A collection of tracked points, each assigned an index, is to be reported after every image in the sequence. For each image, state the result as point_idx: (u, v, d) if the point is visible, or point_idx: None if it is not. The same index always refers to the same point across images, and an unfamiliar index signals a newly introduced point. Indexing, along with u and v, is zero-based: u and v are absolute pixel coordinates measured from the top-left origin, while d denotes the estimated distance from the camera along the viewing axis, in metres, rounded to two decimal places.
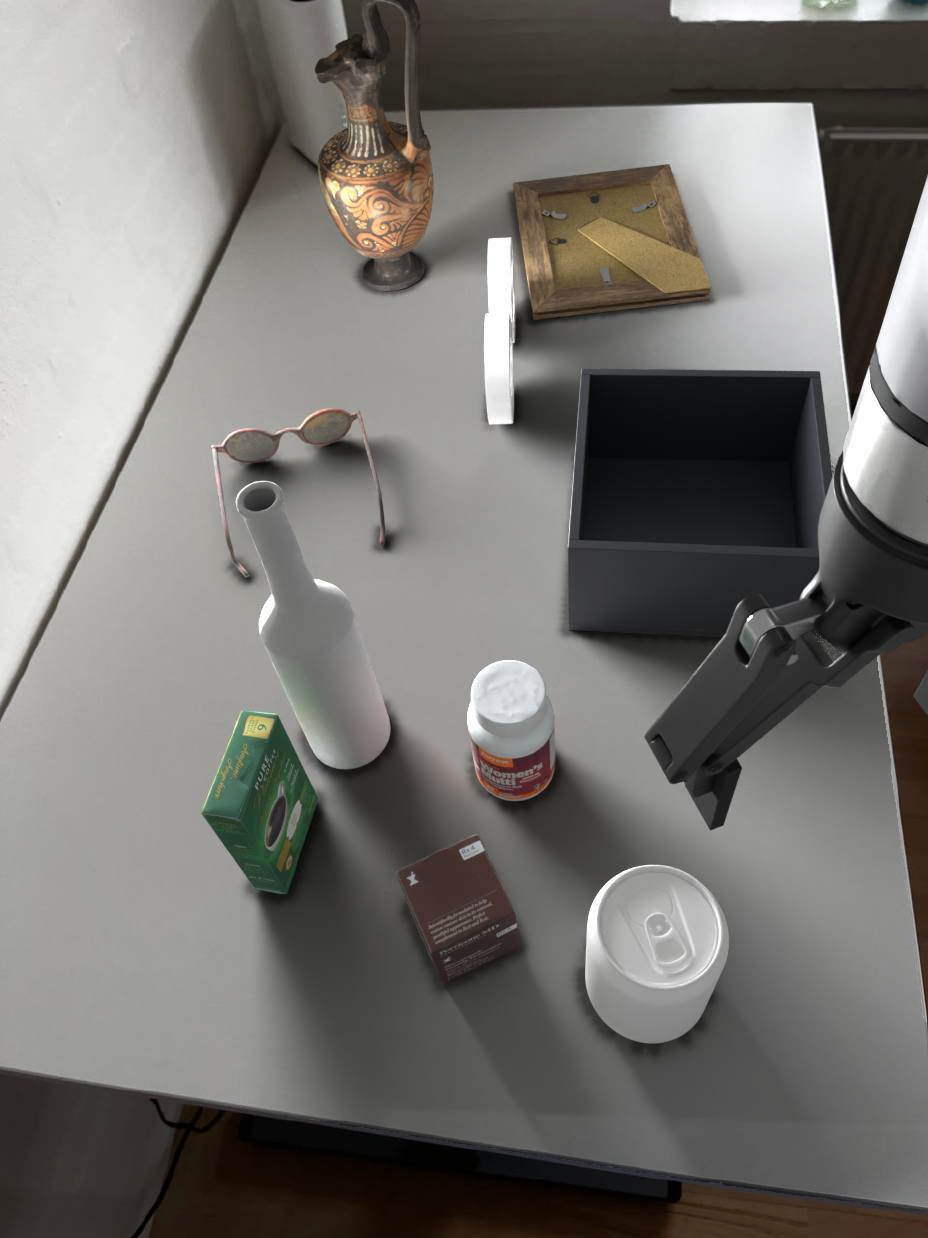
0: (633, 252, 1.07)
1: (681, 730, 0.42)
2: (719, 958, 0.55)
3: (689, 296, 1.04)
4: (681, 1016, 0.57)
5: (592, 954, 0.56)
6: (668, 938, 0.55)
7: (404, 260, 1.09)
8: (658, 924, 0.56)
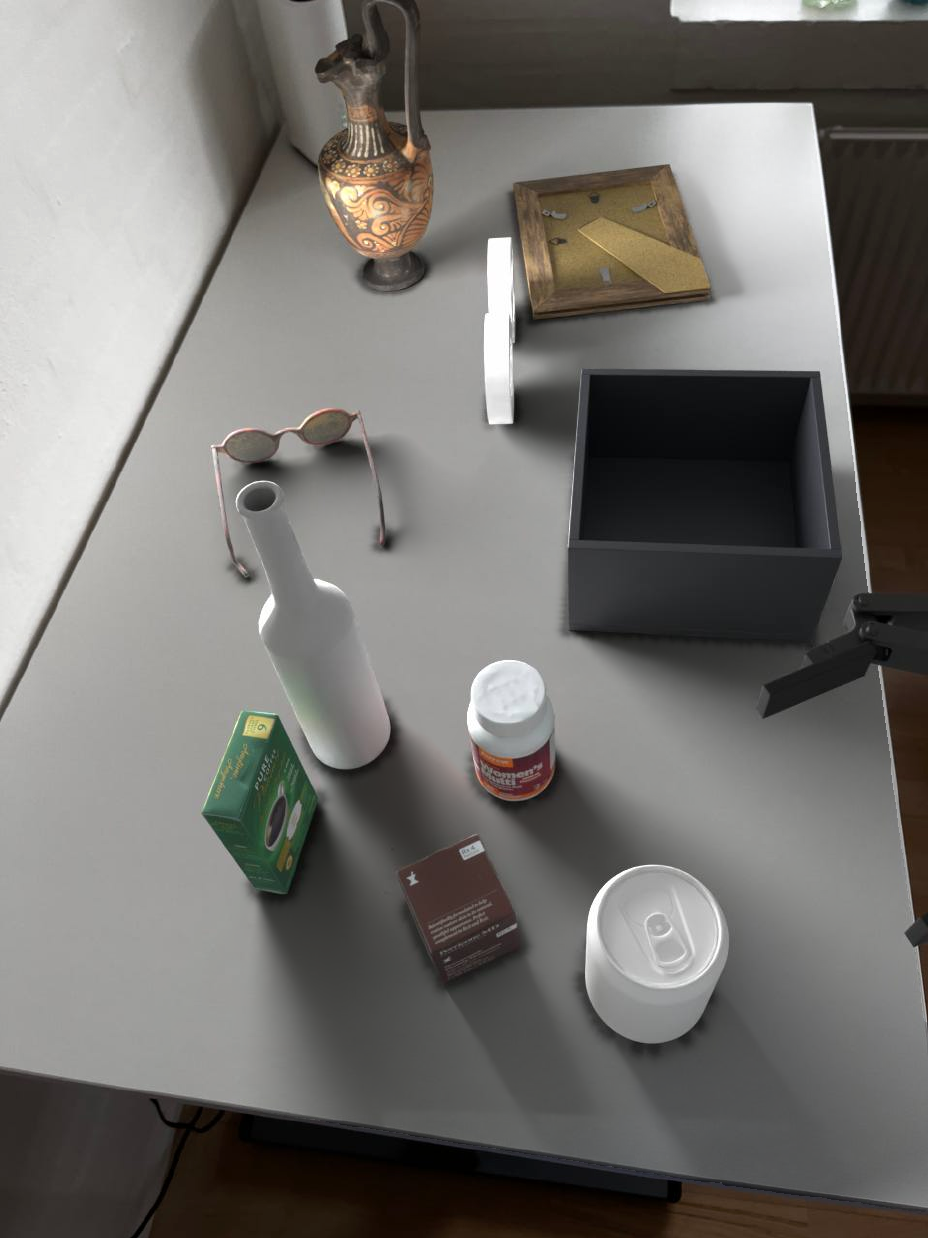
0: (633, 252, 1.07)
1: None
2: (719, 958, 0.55)
3: (689, 296, 1.04)
4: (681, 1016, 0.57)
5: (592, 954, 0.56)
6: (668, 938, 0.55)
7: (404, 260, 1.09)
8: (658, 924, 0.56)
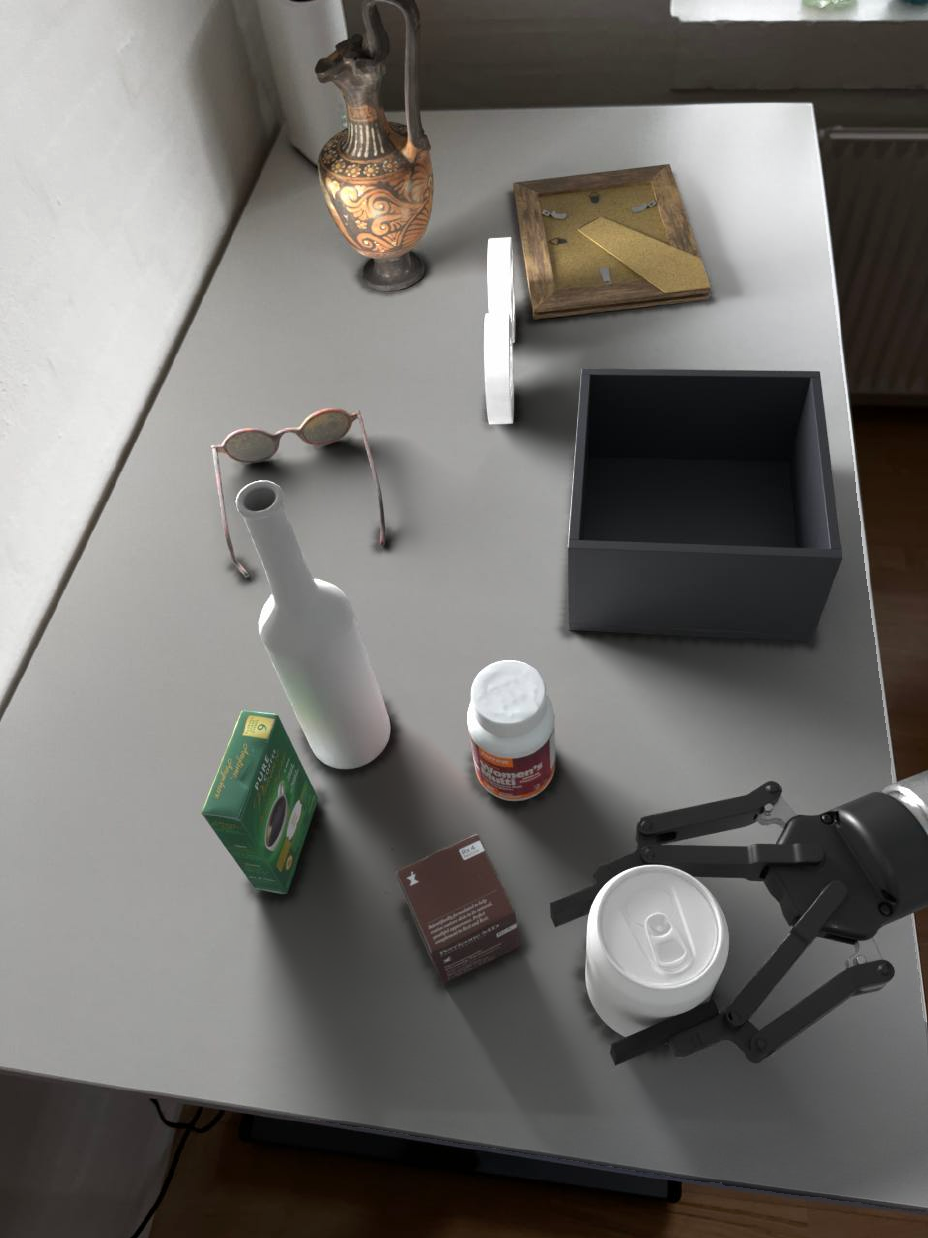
0: (633, 252, 1.07)
1: None
2: (719, 958, 0.55)
3: (689, 296, 1.04)
4: None
5: (592, 954, 0.56)
6: (668, 938, 0.55)
7: (404, 260, 1.09)
8: (658, 924, 0.56)
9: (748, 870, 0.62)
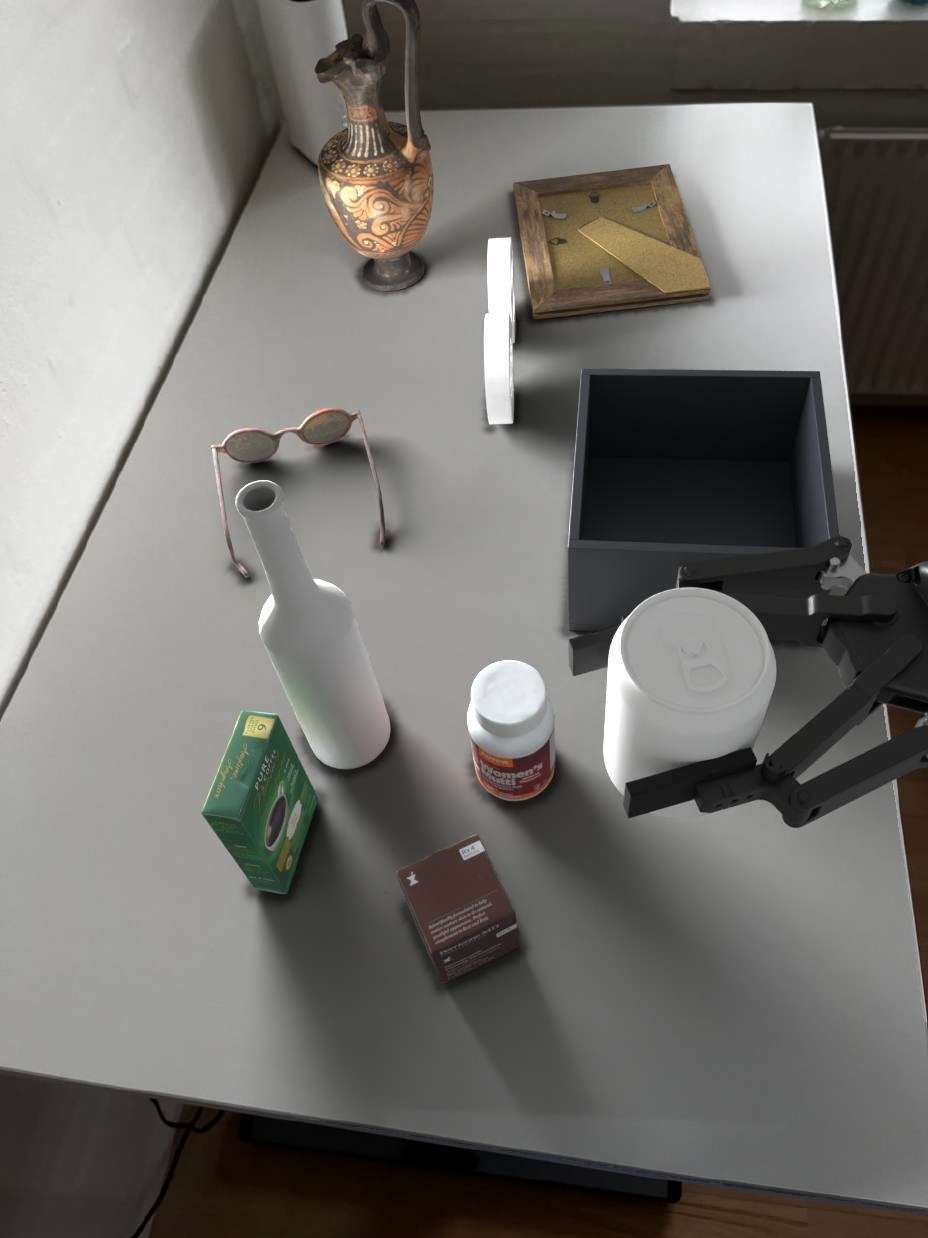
0: (633, 252, 1.07)
1: None
2: (763, 688, 0.46)
3: (689, 296, 1.04)
4: None
5: (612, 678, 0.48)
6: (704, 661, 0.47)
7: (404, 260, 1.09)
8: (693, 647, 0.47)
9: (804, 626, 0.53)
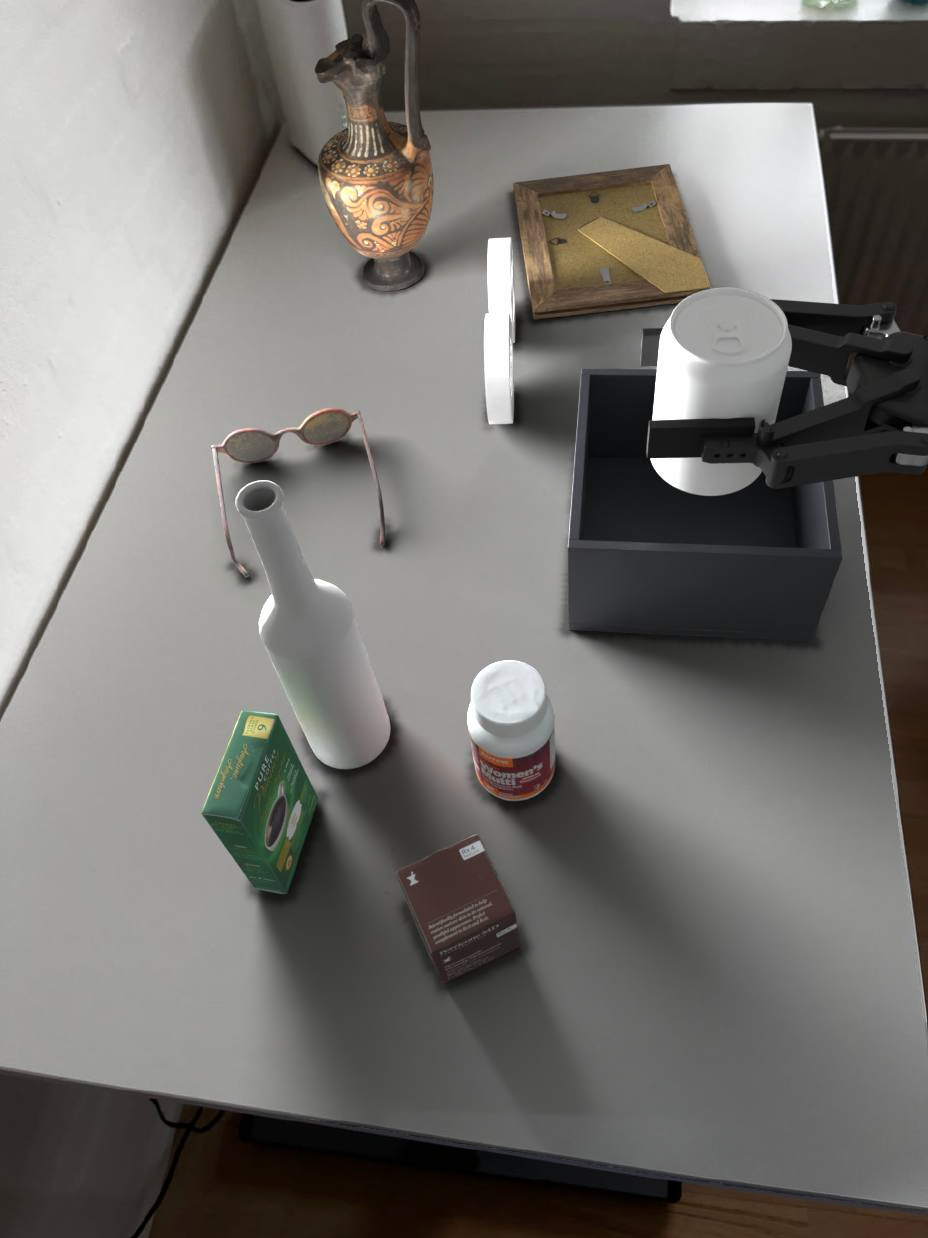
0: (633, 252, 1.07)
1: None
2: (771, 360, 0.59)
3: None
4: None
5: (660, 340, 0.62)
6: (732, 334, 0.60)
7: (404, 260, 1.09)
8: (727, 325, 0.61)
9: (834, 360, 0.65)
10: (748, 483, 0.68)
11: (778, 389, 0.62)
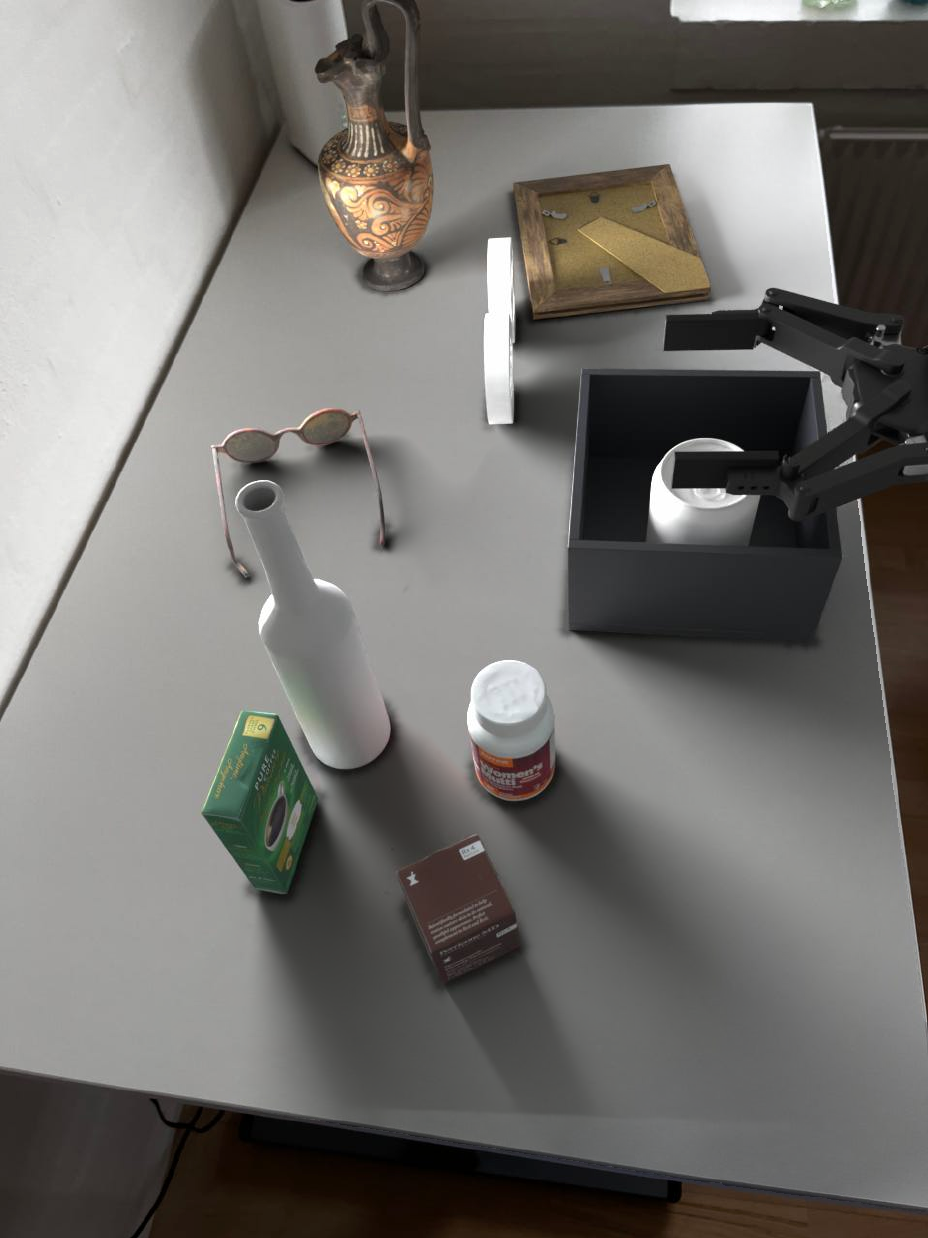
0: (633, 252, 1.07)
1: None
2: (742, 506, 0.72)
3: (689, 296, 1.04)
4: None
5: (652, 481, 0.75)
6: None
7: (404, 260, 1.09)
8: None
9: (834, 360, 0.68)
10: None
11: (749, 525, 0.74)
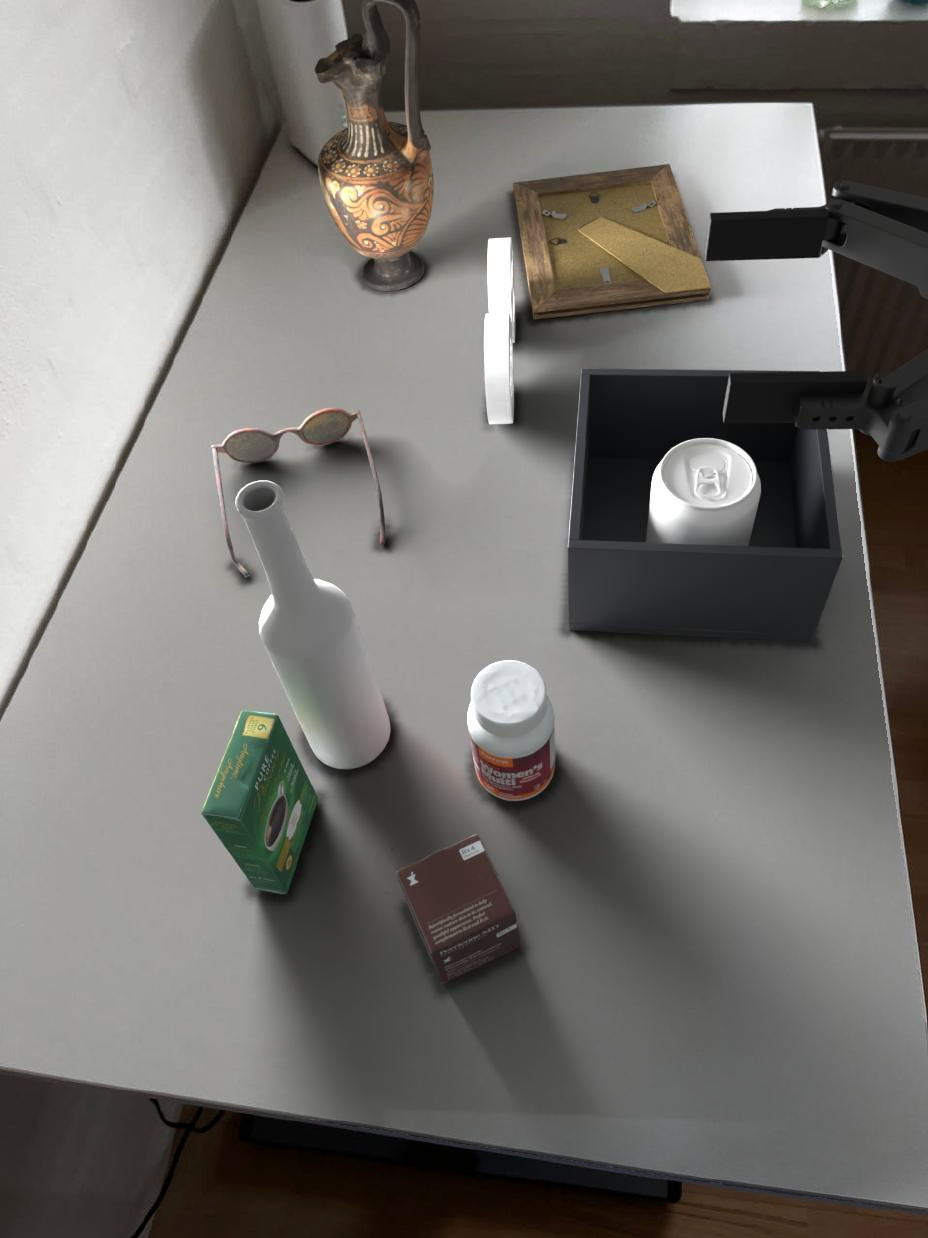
0: (633, 252, 1.07)
1: None
2: (742, 505, 0.72)
3: (689, 296, 1.04)
4: None
5: (652, 481, 0.75)
6: (711, 481, 0.73)
7: (404, 260, 1.09)
8: (708, 473, 0.74)
9: (926, 265, 0.54)
10: None
11: (749, 525, 0.74)
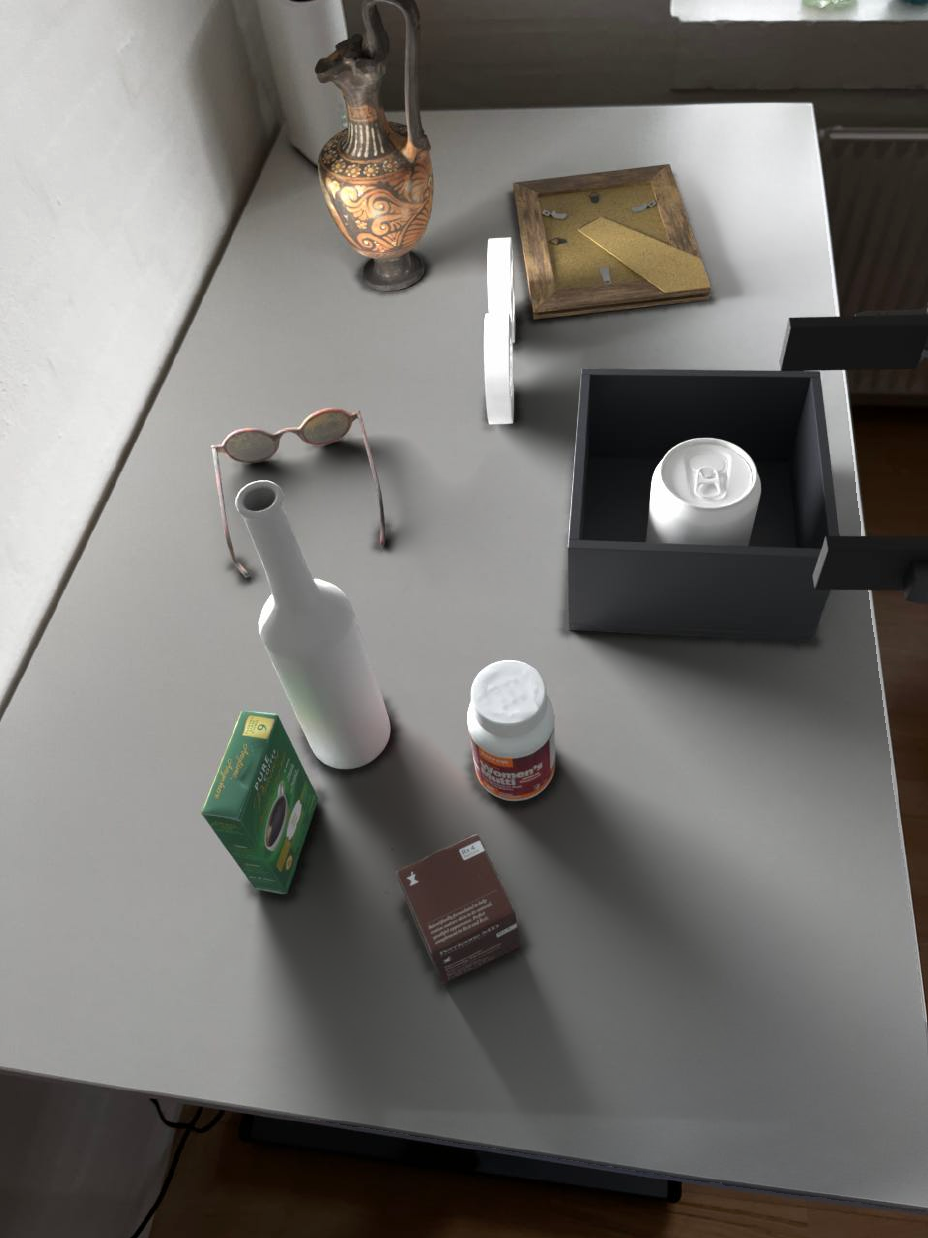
0: (633, 252, 1.07)
1: None
2: (742, 505, 0.72)
3: (689, 296, 1.04)
4: None
5: (652, 481, 0.75)
6: (711, 481, 0.73)
7: (404, 260, 1.09)
8: (708, 472, 0.74)
9: None
10: None
11: (749, 525, 0.74)
